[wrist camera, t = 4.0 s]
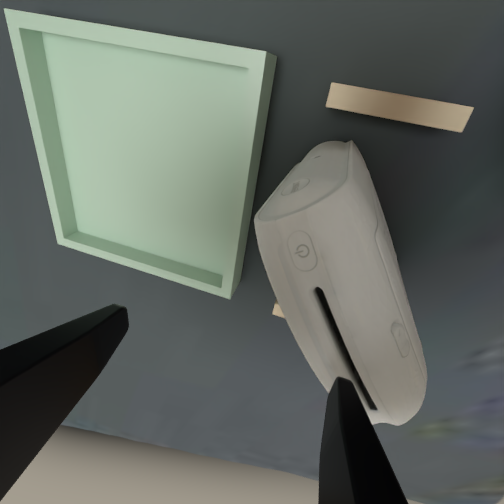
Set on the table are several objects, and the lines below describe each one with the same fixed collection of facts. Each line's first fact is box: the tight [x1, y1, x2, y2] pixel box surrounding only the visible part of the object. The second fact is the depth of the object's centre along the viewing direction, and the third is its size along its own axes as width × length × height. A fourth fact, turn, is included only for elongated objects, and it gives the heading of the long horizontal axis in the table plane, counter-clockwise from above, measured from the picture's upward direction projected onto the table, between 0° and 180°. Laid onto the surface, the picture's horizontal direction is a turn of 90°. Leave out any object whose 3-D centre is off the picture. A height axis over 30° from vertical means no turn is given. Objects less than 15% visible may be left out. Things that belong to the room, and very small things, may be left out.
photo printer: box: [254, 140, 427, 426], centre depth 14 cm, size 10×4×12 cm, turn 27°
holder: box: [272, 82, 474, 318], centre depth 18 cm, size 6×14×4 cm, turn 171°
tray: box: [4, 8, 277, 299], centre depth 21 cm, size 16×16×2 cm
